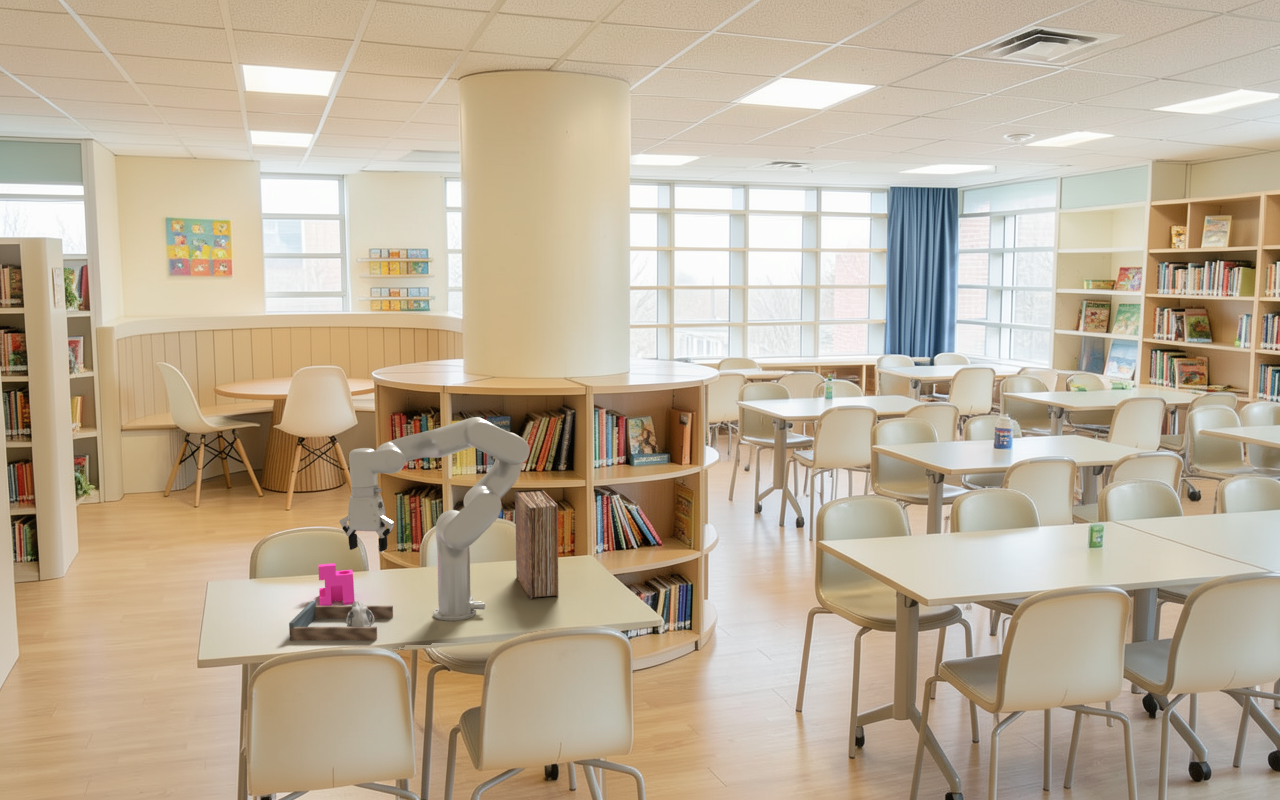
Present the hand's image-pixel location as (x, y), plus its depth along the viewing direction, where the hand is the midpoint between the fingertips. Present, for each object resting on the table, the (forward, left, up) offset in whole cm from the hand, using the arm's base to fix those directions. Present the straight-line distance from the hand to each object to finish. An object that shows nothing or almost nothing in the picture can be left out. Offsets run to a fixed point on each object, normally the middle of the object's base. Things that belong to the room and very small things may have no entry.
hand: (368, 549), depth 281 cm
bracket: (+17, -23, -23) cm, 37 cm away
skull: (+2, +3, -23) cm, 23 cm away
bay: (+7, +3, -23) cm, 24 cm away
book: (-45, -36, -23) cm, 62 cm away
